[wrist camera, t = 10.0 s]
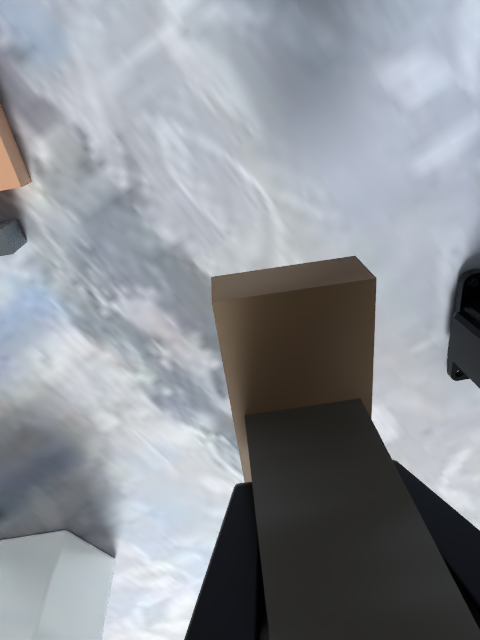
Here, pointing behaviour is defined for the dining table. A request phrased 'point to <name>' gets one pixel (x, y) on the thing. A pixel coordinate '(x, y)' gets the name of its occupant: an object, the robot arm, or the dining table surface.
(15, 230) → the grey u-shaped frame
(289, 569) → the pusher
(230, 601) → the robot arm
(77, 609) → the jar
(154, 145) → the dining table surface
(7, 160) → the tile
